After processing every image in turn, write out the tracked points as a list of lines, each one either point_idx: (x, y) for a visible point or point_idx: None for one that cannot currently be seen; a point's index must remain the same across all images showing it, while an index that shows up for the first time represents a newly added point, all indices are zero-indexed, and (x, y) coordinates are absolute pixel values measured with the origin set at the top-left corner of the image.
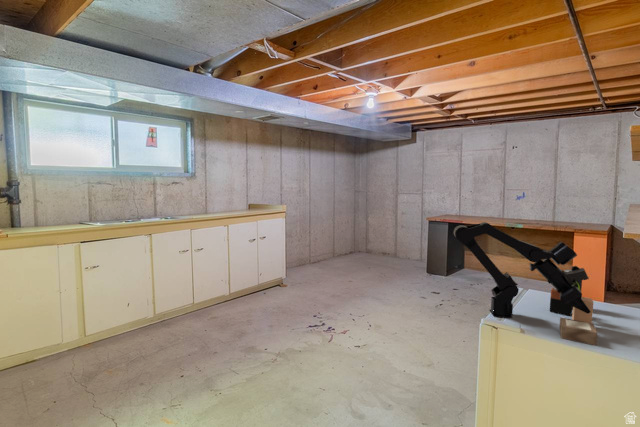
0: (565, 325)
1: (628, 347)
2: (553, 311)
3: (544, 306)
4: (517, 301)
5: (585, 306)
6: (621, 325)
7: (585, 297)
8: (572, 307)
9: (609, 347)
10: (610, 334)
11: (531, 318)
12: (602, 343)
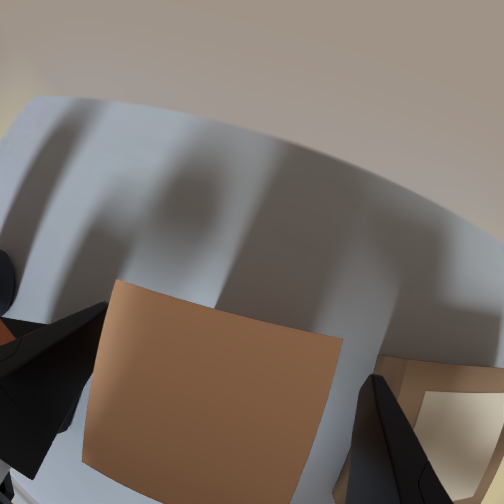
0: (468, 501)
1: (462, 236)
2: (68, 420)
3: None
4: (14, 480)
5: (412, 442)
6: (166, 148)
7: (108, 355)
8: (10, 291)
9: (492, 318)
10: (330, 248)
11: None
12: (466, 335)
